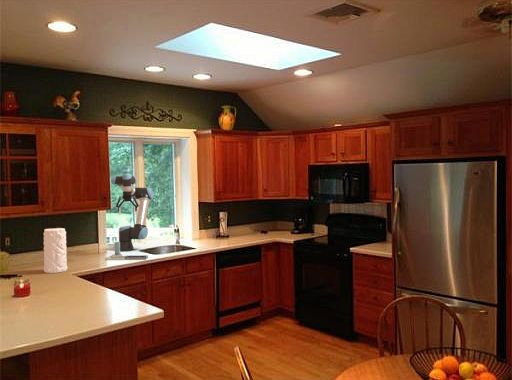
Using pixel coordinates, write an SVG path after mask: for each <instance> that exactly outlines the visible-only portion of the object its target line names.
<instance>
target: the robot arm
mask: <svg viewBox="0 0 512 380" xmlns="http://www.w3.org/2000/svg"><path fill="white" fill-rule="evenodd" d="M110 183H111V184H112V185H117V186H118V187H119V188H120V189H122V196H119V197H118V199H117V203H116V204H115V208H117V211H118V215H119V216H121V213H122V210H121V206H123V204H124V203H126V202H128V203H129V202H130V203H131V204H132V206H134V207H133V214H134V216H135V215H137V216H136V223H135V224H134V225H133V226H132V225H123V226H120V227H119V228H118V242H120V252H130V251H134V249H135V248H134V245H133V242H132V240H145V239H147V237H148V233H149V232H148V231H149V229H148V227H147V225H146V222H147V221H146V220H147V215H148V210H149V203H150V202H151V201H152V200H153V199H154V197H155V196H154V191H153V190H154V189H153V188H152V187H148V186H147V187H134V186H132V185H135V184H136V183H137V177H136V176H133V175H132V174H131V173H123V174H122V175H121V176H120V175H118V176H117V175H115V176H111V178H110ZM137 200H138V201H139V203H138V201H137ZM137 211H138V212H137Z"/></svg>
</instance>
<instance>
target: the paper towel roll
mask: <svg viewBox="0 0 512 380" xmlns="http://www.w3.org/2000/svg"><path fill="white" fill-rule="evenodd" d="M43 251H44V252H43V263H44V266H43V269H42V270H43V273H47V274H54V273H55V274H56V273H63V272H66V271H67V270H68V265H67V261H68V259H67V258H68V257H67V254H68V252H67V231H66V228H62V227H56V228H44V232H43Z"/></svg>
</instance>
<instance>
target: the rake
mask: <svg viewBox="0 0 512 380" xmlns="http://www.w3.org/2000/svg"><path fill="white" fill-rule="evenodd" d="M113 255H122V254H121V251H120V242H119V241H115V242H114V254H113Z"/></svg>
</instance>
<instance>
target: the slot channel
mask: <svg viewBox="0 0 512 380" xmlns="http://www.w3.org/2000/svg"><path fill="white" fill-rule="evenodd" d="M125 256H126V257H124V260H123V261H146V260H147V259H148V258H149V255H146V254H145V255H144V254H143V255H125Z"/></svg>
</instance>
